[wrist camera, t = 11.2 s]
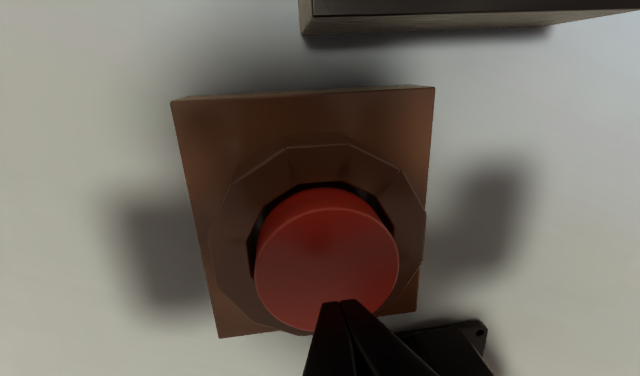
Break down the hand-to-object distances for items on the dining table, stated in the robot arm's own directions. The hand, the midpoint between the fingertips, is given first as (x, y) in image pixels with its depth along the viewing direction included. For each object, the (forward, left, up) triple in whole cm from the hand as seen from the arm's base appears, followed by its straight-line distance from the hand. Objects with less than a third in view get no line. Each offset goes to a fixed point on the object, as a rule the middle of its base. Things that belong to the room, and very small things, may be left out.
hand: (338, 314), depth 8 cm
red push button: (0, 0, -3) cm, 3 cm away
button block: (0, 0, -7) cm, 7 cm away
